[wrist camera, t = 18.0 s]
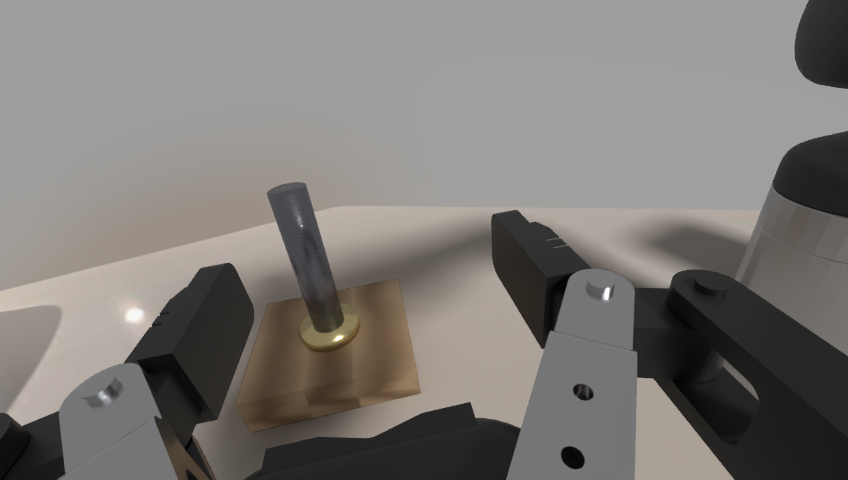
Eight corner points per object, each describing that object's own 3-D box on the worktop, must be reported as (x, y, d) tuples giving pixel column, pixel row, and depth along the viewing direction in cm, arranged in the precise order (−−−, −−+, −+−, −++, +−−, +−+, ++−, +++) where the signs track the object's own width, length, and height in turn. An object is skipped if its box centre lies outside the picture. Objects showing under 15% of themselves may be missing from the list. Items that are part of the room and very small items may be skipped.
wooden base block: (402, 303, 46) (398, 278, 44) (420, 393, 34) (415, 364, 32) (278, 328, 45) (267, 304, 43) (250, 432, 33) (234, 404, 31)
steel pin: (366, 332, 42) (325, 172, 32) (368, 372, 37) (320, 196, 27) (315, 343, 42) (258, 183, 32) (310, 385, 36) (240, 209, 27)
